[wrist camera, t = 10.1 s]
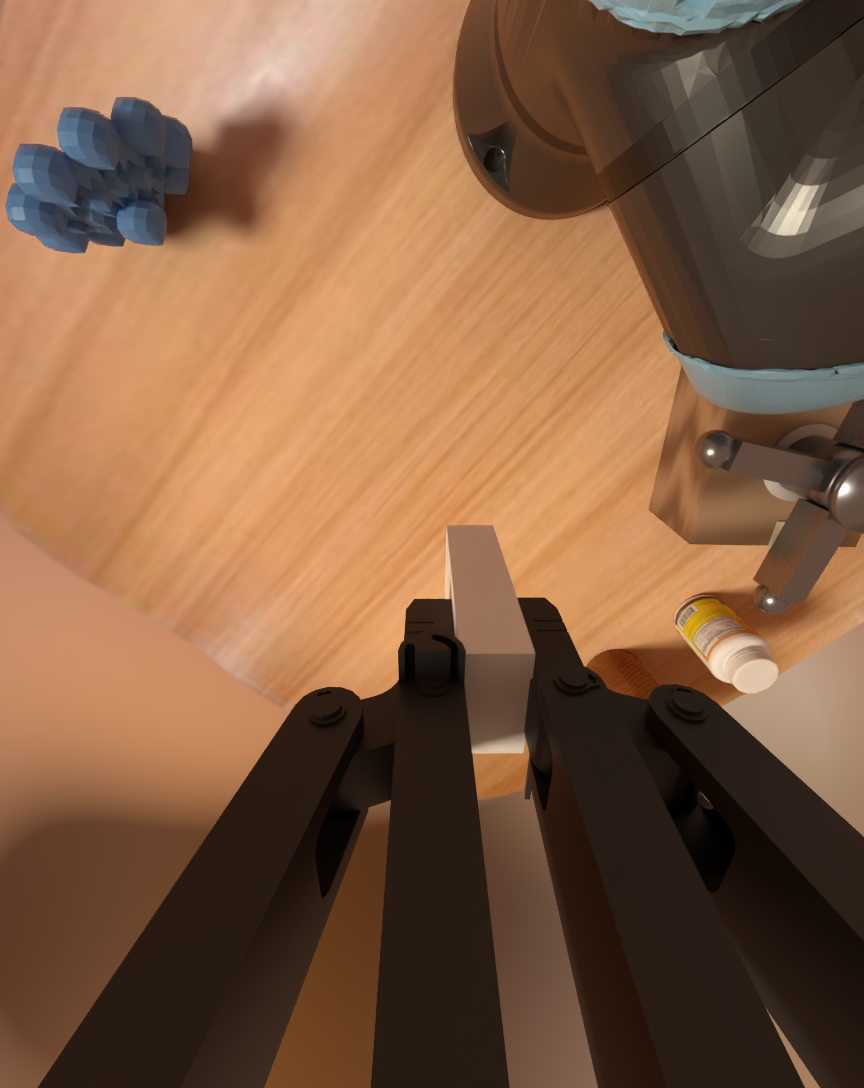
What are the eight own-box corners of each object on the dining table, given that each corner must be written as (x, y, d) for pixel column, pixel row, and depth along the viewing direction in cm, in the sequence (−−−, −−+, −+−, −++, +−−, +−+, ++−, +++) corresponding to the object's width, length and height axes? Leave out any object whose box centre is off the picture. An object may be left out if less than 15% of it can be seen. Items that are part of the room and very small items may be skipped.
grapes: (151, 306, 39) (43, 300, 28) (80, 227, 36) (-68, 186, 25) (252, 203, 36) (177, 151, 25) (183, 110, 33) (66, 8, 23)
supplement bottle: (723, 628, 53) (787, 693, 43) (673, 639, 53) (725, 706, 44) (723, 586, 50) (790, 645, 41) (670, 598, 51) (724, 660, 42)
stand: (688, 337, 40) (749, 340, 32) (853, 341, 40) (951, 346, 33) (648, 511, 47) (691, 547, 39) (790, 514, 47) (859, 550, 39)
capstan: (615, 564, 40) (650, 608, 34) (742, 264, 31) (822, 249, 24) (851, 609, 42) (925, 659, 36) (1035, 343, 33) (1177, 347, 27)
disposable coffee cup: (622, 622, 52) (674, 701, 41) (668, 671, 55) (728, 757, 44) (553, 670, 55) (584, 756, 44) (601, 715, 58) (641, 806, 47)
